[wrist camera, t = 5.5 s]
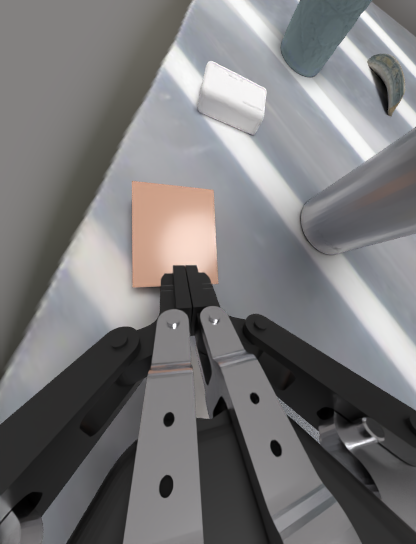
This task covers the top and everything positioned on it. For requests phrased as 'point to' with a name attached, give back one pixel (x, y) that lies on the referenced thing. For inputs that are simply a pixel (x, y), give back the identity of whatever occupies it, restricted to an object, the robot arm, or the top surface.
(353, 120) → the top surface
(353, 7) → the green ceramic cup
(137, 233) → the terracotta tile
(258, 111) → the soap
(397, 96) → the ceramic fragment
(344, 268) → the top surface
